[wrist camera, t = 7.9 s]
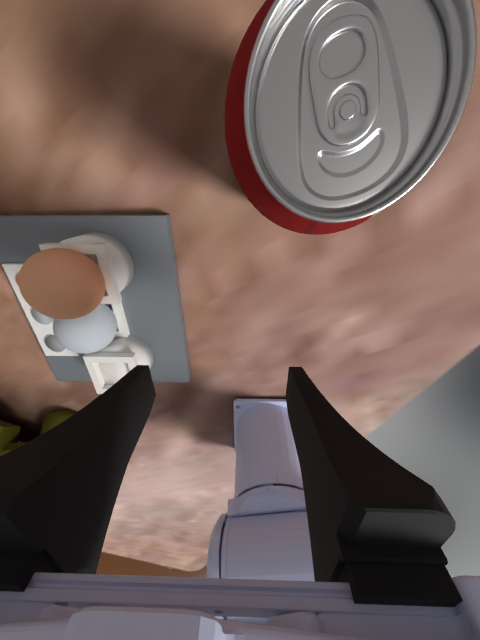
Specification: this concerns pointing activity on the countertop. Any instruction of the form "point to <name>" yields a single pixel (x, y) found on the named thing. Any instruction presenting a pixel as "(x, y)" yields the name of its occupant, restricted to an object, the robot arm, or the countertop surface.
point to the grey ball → (87, 330)
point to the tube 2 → (117, 361)
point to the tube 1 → (103, 260)
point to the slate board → (137, 298)
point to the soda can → (345, 104)
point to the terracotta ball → (61, 283)
